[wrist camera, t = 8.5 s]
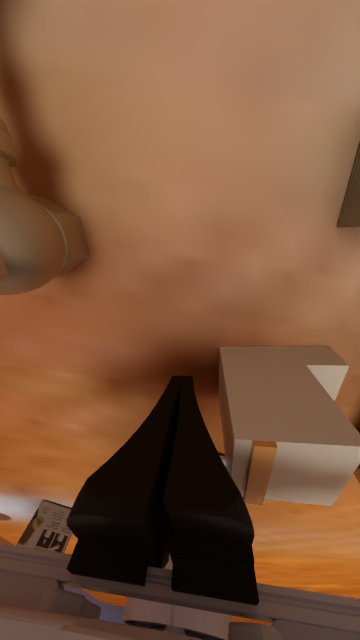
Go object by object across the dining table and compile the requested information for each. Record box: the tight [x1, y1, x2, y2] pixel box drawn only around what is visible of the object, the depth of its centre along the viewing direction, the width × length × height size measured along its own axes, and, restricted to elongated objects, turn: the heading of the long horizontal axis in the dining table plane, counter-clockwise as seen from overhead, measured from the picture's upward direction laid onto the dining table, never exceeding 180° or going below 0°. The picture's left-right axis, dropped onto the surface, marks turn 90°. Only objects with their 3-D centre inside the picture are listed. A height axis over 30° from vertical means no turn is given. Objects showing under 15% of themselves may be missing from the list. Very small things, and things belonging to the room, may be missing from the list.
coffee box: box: [16, 501, 73, 553], centre depth 22 cm, size 9×6×16 cm
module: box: [219, 346, 360, 506], centre depth 10 cm, size 4×7×6 cm
